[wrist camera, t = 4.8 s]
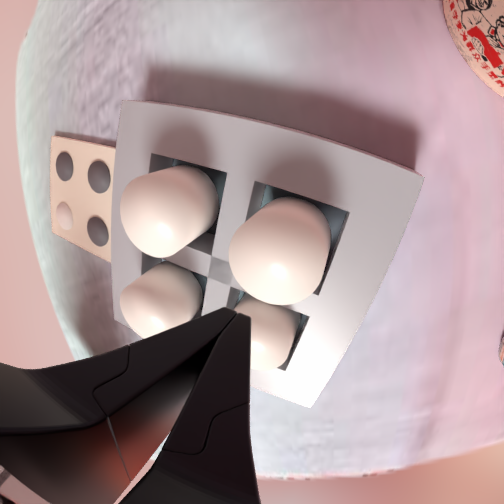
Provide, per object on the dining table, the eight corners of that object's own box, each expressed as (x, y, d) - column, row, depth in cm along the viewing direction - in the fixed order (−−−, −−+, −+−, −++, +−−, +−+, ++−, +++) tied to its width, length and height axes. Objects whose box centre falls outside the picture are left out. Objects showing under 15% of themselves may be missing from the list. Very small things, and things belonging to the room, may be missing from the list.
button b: (199, 325, 20) (174, 354, 17) (149, 301, 20) (121, 326, 18) (207, 275, 18) (179, 302, 15) (151, 252, 18) (118, 273, 16)
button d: (212, 244, 17) (182, 269, 14) (153, 223, 18) (118, 241, 15) (225, 175, 15) (194, 187, 12) (161, 157, 16) (122, 166, 13)
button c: (316, 283, 16) (306, 317, 13) (245, 257, 16) (221, 285, 14) (342, 212, 14) (338, 234, 11) (262, 186, 15) (239, 200, 12)
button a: (290, 346, 20) (277, 379, 17) (234, 324, 20) (215, 354, 18) (309, 299, 18) (298, 331, 15) (247, 276, 19) (226, 303, 16)
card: (122, 265, 22) (117, 267, 22) (55, 230, 24) (51, 232, 24) (128, 150, 18) (123, 151, 18) (55, 135, 20) (50, 136, 20)
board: (316, 384, 21) (310, 408, 19) (131, 304, 24) (114, 319, 22) (414, 170, 13) (424, 177, 11) (147, 100, 17) (122, 100, 14)
